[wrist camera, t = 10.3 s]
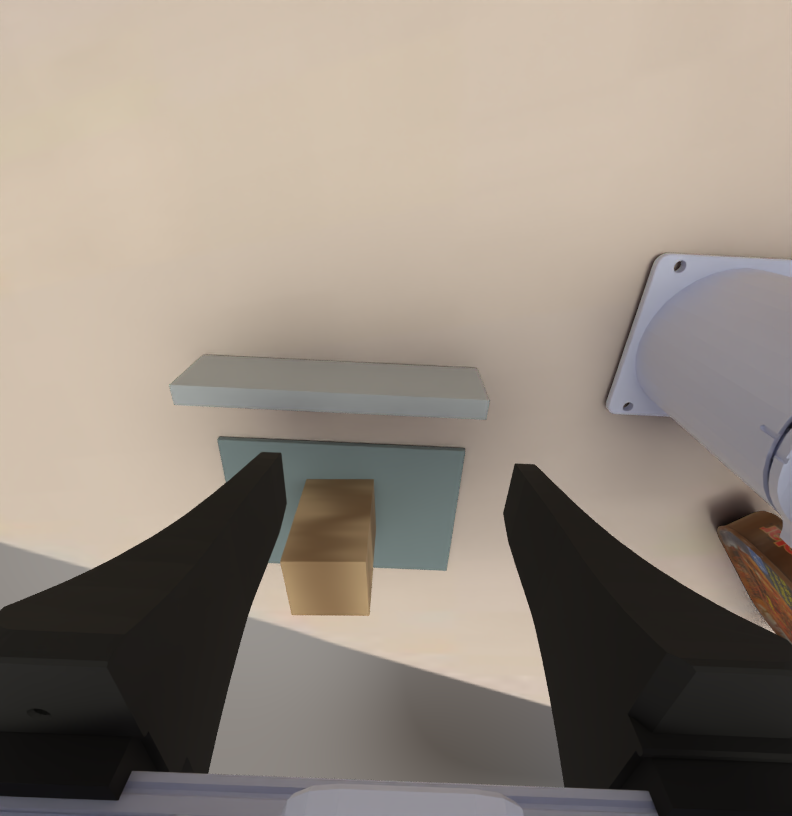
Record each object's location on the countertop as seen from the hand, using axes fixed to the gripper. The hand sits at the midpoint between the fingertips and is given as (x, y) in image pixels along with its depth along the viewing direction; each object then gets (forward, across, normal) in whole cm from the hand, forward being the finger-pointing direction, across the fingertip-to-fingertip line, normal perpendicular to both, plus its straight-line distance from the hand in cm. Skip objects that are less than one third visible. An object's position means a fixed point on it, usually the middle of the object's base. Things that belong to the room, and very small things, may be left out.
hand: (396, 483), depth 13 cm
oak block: (+9, +3, +9) cm, 13 cm away
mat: (+9, +3, +10) cm, 14 cm away
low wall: (+9, +3, 0) cm, 10 cm away
